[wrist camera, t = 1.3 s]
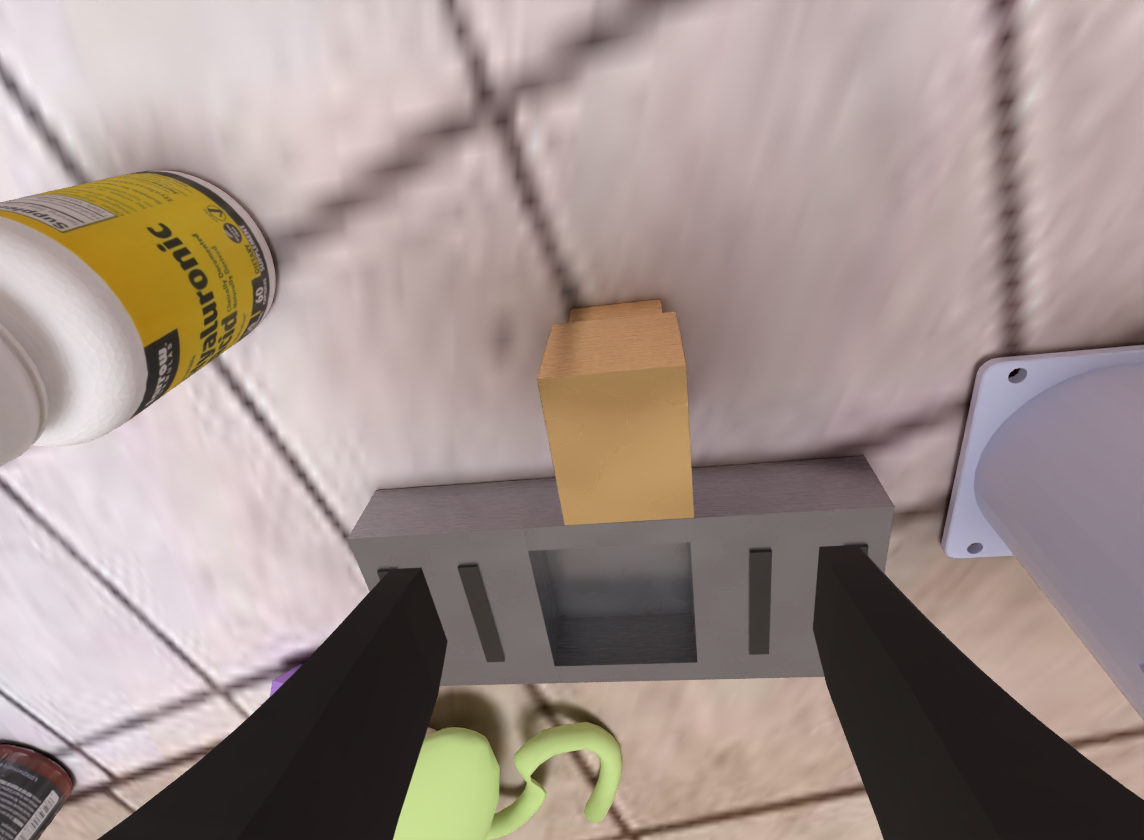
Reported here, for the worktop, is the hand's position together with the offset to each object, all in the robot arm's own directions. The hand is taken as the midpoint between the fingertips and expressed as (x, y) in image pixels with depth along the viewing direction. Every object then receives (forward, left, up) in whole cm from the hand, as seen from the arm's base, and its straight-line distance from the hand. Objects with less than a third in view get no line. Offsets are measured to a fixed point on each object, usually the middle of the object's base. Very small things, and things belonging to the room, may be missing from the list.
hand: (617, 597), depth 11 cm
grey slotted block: (+1, +9, -10) cm, 13 cm away
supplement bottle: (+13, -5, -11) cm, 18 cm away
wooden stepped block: (0, 0, -10) cm, 10 cm away
